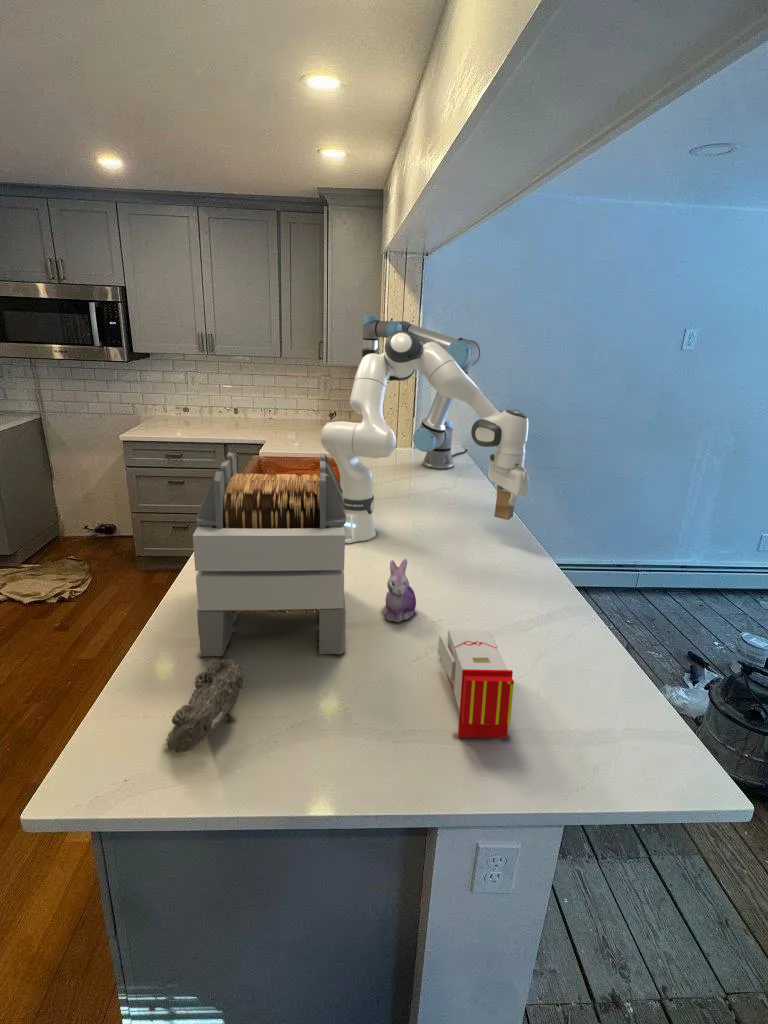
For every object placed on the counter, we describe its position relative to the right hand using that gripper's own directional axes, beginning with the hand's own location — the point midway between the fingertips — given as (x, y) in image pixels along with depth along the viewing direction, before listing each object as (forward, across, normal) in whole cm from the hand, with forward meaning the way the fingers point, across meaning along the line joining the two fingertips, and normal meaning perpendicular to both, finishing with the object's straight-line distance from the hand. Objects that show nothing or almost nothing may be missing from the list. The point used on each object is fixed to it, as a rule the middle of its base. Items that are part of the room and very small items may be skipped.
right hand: (368, 393), depth 284 cm
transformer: (+34, -148, +67) cm, 166 cm away
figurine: (+34, -154, +36) cm, 162 cm away
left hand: (+18, -118, -13) cm, 120 cm away
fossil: (+34, -182, +84) cm, 203 cm away
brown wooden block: (+24, -118, -13) cm, 121 cm away
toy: (+34, -188, +32) cm, 193 cm away
